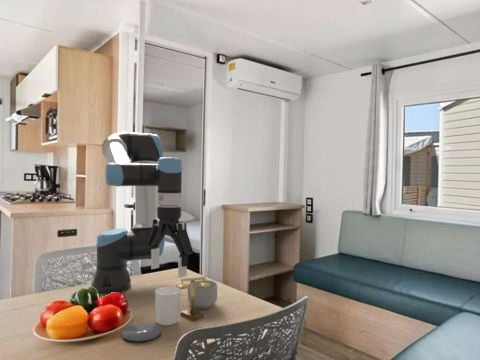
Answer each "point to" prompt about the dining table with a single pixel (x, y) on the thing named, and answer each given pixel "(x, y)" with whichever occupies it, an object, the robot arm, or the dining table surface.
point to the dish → (141, 332)
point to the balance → (192, 297)
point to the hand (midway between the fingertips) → (168, 272)
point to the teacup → (204, 294)
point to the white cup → (167, 305)
